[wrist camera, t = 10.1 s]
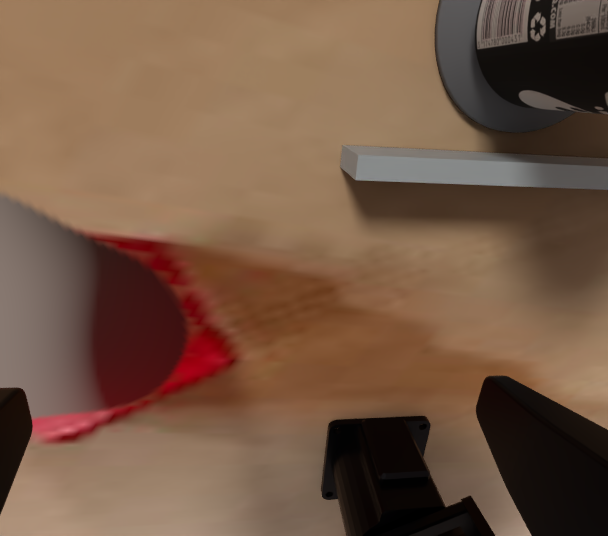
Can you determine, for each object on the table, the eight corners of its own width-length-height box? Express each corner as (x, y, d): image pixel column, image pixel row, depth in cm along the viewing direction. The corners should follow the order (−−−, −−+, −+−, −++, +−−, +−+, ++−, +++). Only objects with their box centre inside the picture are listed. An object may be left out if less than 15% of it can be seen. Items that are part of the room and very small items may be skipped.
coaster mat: (591, 136, 21) (597, 137, 20) (418, 126, 19) (421, 127, 19) (665, -93, 17) (674, -97, 17) (458, -123, 16) (463, -129, 15)
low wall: (638, 179, 22) (694, 193, 19) (340, 167, 20) (355, 180, 17) (645, 160, 22) (704, 171, 19) (342, 145, 19) (358, 154, 17)
